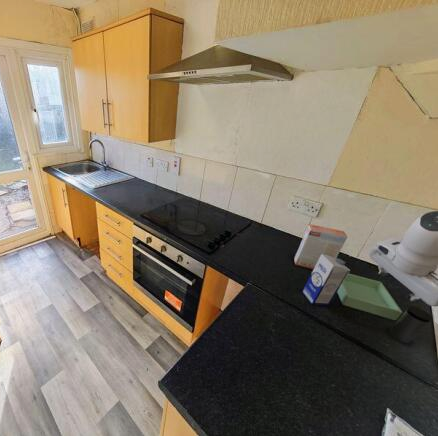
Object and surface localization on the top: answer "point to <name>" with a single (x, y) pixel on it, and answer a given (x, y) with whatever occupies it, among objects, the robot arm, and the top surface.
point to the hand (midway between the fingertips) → (396, 286)
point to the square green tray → (368, 297)
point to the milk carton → (325, 280)
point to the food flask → (409, 324)
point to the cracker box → (319, 245)
